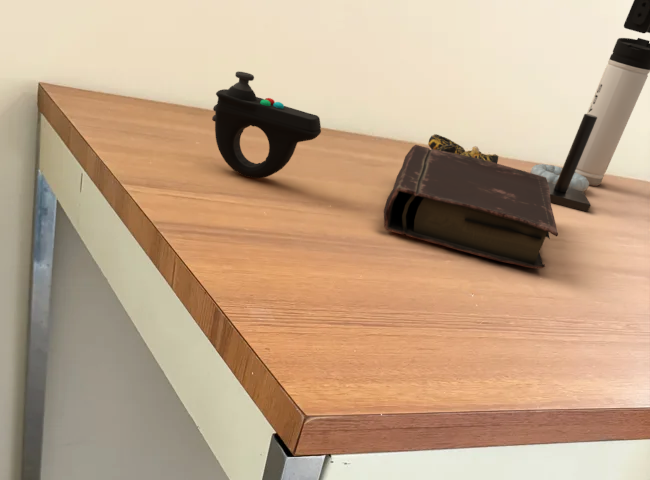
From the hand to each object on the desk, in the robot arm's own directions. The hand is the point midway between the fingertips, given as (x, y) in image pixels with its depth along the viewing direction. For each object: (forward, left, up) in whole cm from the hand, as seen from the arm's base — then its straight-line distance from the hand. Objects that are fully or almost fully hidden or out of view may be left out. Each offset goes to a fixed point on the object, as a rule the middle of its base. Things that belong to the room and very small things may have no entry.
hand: (640, 31), depth 116 cm
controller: (+43, +44, -21) cm, 65 cm away
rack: (+4, +12, -21) cm, 25 cm away
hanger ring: (+3, +2, -20) cm, 20 cm away
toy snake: (+19, +10, -21) cm, 30 cm away
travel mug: (-2, -7, -21) cm, 23 cm away
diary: (+18, +40, -21) cm, 49 cm away
